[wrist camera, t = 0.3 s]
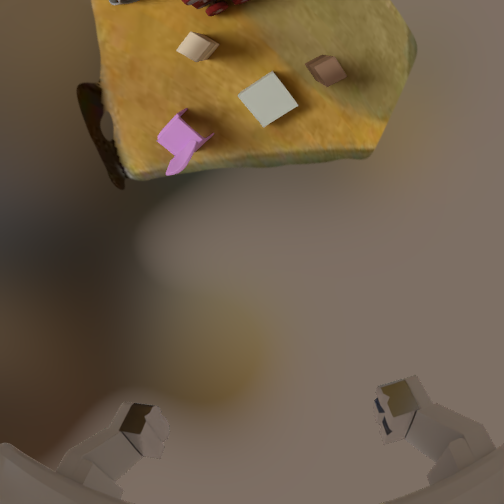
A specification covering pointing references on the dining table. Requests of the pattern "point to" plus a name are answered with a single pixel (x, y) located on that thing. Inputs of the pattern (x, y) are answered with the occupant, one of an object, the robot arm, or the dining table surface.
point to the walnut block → (326, 70)
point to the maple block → (197, 47)
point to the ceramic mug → (121, 2)
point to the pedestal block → (267, 99)
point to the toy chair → (180, 142)
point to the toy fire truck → (202, 0)
